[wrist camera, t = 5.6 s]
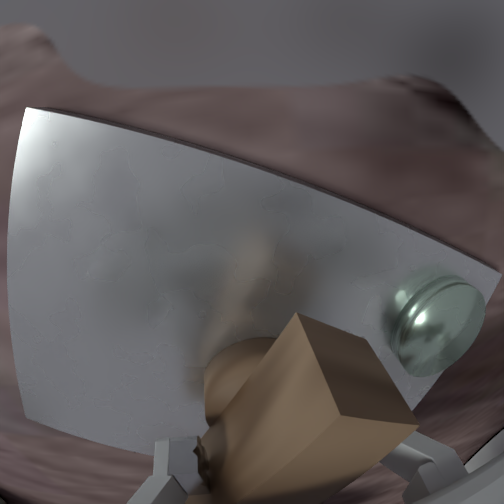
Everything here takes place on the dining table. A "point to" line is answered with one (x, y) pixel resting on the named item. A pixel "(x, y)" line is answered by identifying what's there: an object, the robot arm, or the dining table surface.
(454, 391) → the dining table surface
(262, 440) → the wing knob
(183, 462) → the robot arm
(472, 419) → the dining table surface
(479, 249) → the dining table surface
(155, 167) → the levelling plate
